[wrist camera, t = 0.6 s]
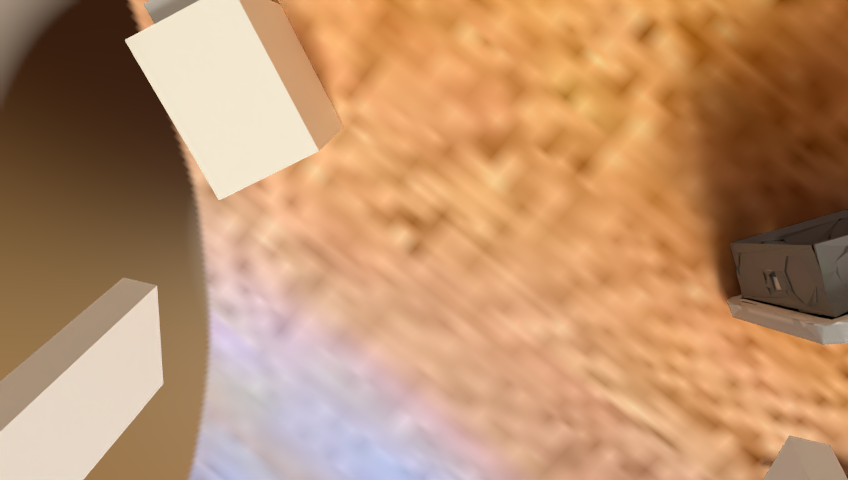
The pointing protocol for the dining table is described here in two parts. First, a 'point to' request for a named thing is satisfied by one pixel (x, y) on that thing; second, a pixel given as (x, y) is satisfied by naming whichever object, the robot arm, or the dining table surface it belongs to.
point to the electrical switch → (796, 279)
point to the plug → (235, 87)
